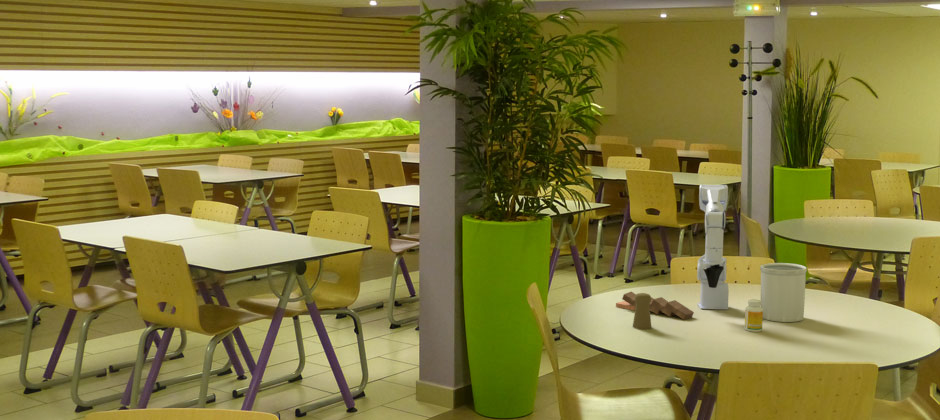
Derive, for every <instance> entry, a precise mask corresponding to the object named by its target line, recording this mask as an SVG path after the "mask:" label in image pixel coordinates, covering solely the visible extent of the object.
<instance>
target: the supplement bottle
mask: <svg viewBox="0 0 940 420" xmlns="http://www.w3.org/2000/svg"><path fill="white" fill-rule="evenodd" d="M744 310H745V315H744V330H745V331H747V332H752V333H759V332H762V331H763V308H762V307H761V299H756V298H755V299H754V298H753V299H748V300H747V306H746V307H745V309H744Z"/></svg>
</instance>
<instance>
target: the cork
mask: <svg viewBox="0 0 940 420" xmlns="http://www.w3.org/2000/svg"><path fill="white" fill-rule="evenodd" d="M635 294H636V295H635V302H636V309H635V311H634V317H633V323H632V328H634V329H636V330H650V328H651V329H652V317H651V310H650V308H649V304H650V302H651V297H652V296H651V295H650V293H646V292H640V293H639V292H638V293H635Z"/></svg>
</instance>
